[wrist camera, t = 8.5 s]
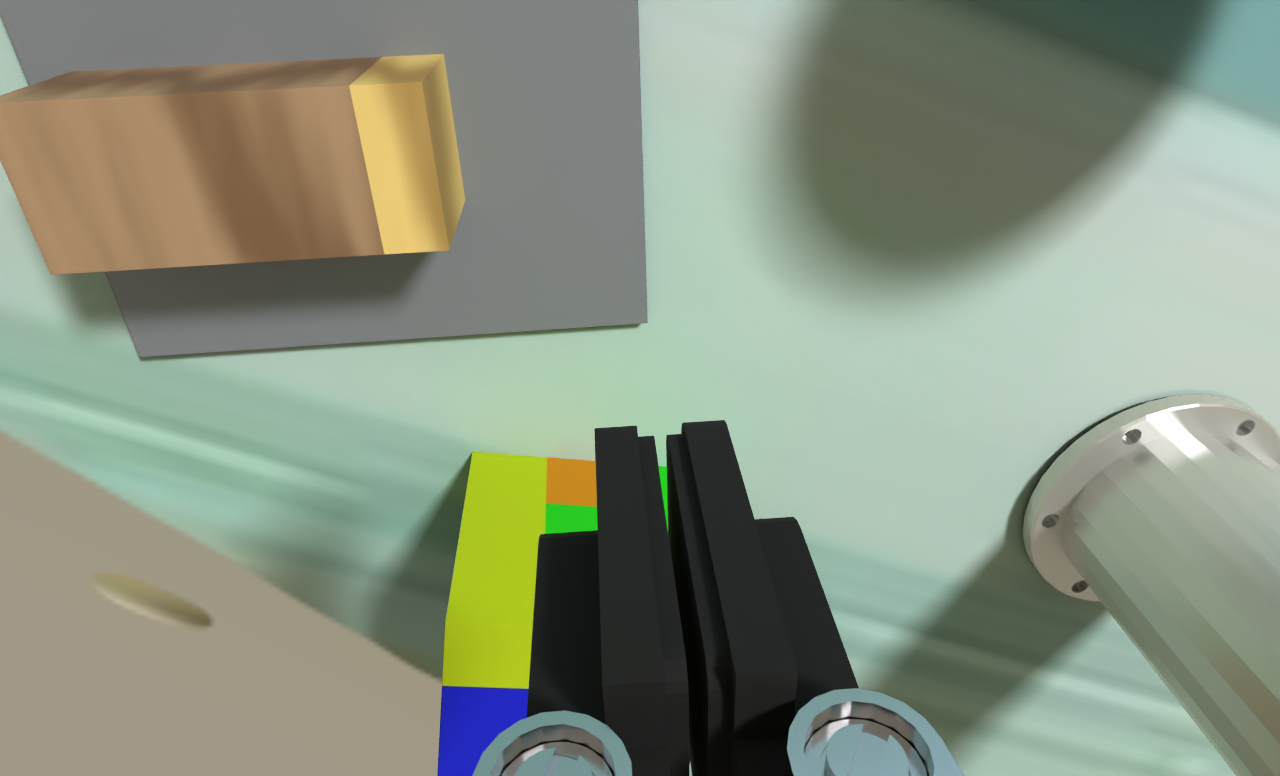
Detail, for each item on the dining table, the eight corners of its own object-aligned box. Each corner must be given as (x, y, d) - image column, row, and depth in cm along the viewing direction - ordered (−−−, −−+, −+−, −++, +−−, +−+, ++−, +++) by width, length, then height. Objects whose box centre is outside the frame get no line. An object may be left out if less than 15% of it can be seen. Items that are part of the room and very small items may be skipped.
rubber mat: (631, -151, 25) (633, -151, 24) (646, 316, 33) (647, 322, 33) (-44, -127, 24) (-58, -128, 23) (146, 349, 32) (139, 357, 31)
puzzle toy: (462, 610, 41) (436, 796, 32) (472, 450, 36) (445, 620, 27) (654, 619, 42) (678, 799, 34) (690, 467, 37) (728, 633, 29)
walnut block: (421, 82, 22) (-25, 104, 22) (449, 250, 25) (50, 274, 24) (443, 53, 27) (71, 71, 26) (465, 200, 29) (126, 219, 29)
